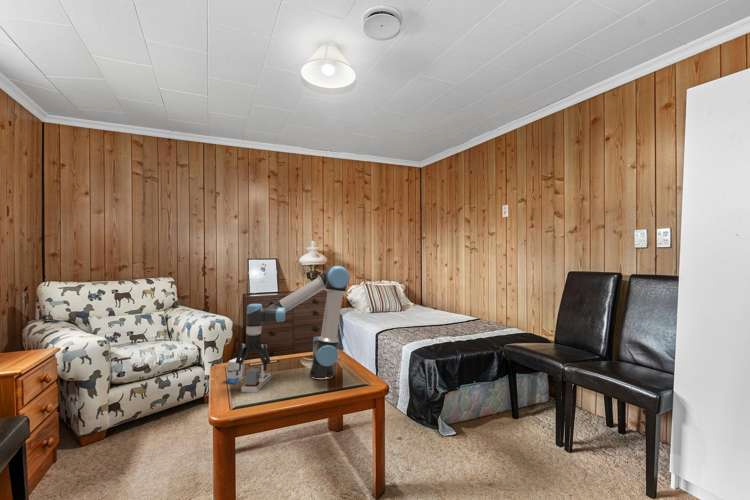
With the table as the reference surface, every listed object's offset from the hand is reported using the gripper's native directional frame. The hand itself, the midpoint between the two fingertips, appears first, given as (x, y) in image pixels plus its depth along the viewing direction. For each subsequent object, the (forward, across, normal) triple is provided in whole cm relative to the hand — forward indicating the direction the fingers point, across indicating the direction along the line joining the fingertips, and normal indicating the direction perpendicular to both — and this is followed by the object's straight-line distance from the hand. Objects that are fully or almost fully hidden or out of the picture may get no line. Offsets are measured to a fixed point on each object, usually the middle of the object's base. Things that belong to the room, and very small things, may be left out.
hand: (252, 376), depth 188 cm
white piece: (+6, 0, -6) cm, 9 cm away
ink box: (+7, +14, -11) cm, 19 cm away
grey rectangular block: (+6, 0, 0) cm, 6 cm away
